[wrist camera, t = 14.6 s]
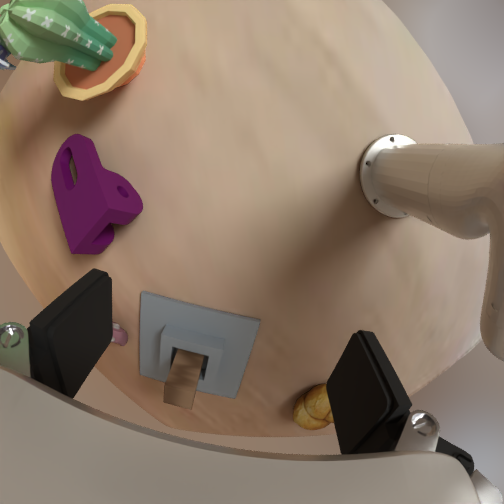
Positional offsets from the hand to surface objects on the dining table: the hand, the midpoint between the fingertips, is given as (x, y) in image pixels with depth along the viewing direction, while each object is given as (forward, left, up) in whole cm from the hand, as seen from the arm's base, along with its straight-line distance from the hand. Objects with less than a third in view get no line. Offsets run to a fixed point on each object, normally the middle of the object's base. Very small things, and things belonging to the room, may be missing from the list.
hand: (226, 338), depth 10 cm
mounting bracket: (+25, +2, -31) cm, 39 cm away
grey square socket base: (+4, +28, -30) cm, 41 cm away
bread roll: (-22, +35, -31) cm, 52 cm away
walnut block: (+4, +28, -30) cm, 41 cm away
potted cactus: (+25, -18, -31) cm, 43 cm away
